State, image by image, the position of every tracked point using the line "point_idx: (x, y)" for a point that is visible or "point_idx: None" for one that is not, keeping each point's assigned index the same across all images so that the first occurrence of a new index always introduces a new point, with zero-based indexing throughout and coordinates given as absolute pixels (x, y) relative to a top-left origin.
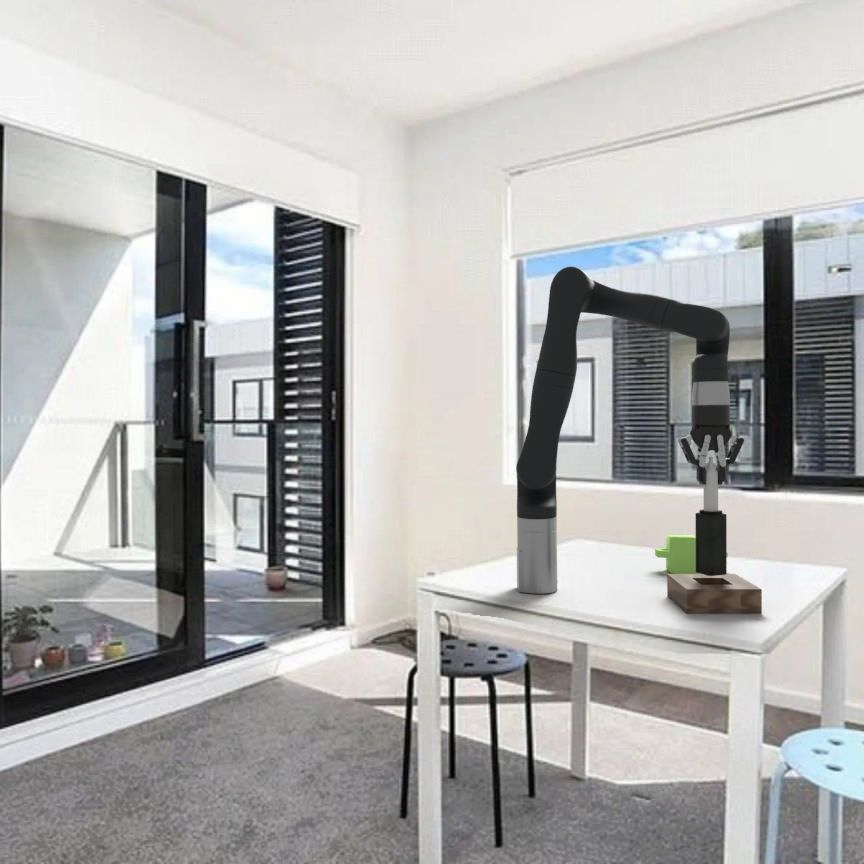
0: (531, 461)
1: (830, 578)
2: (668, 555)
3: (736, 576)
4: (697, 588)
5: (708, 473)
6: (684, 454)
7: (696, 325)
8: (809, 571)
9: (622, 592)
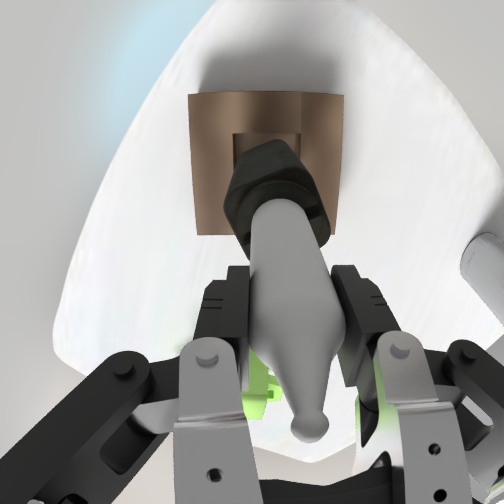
0: None
1: (60, 318)
2: (268, 377)
3: (201, 211)
4: (319, 99)
5: (331, 301)
6: (480, 430)
7: None
8: (80, 352)
9: (386, 244)
